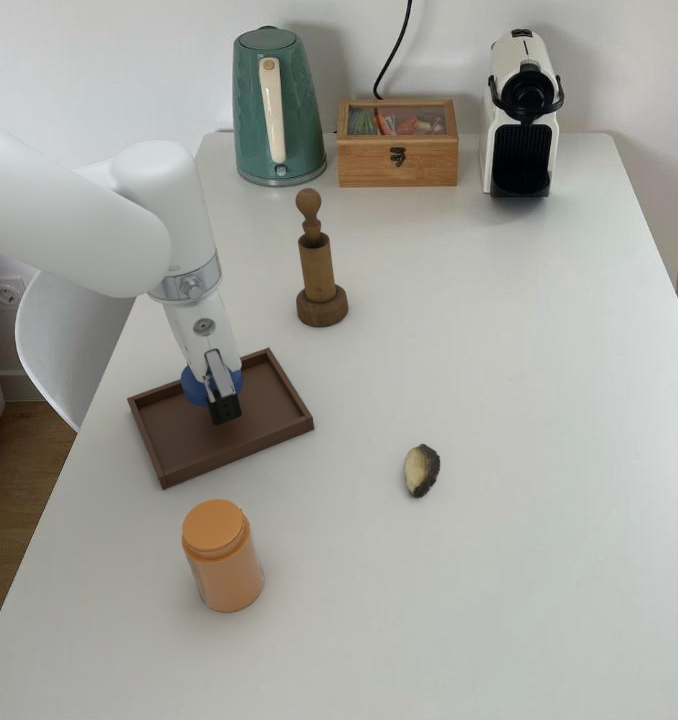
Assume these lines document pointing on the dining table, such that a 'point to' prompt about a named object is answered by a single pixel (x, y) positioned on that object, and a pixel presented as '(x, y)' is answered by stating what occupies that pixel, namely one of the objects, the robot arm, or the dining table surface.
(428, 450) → the nut kernel
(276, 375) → the tray
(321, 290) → the mortar and pestle
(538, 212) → the dining table surface
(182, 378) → the lid
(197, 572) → the jar
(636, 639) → the dining table surface
